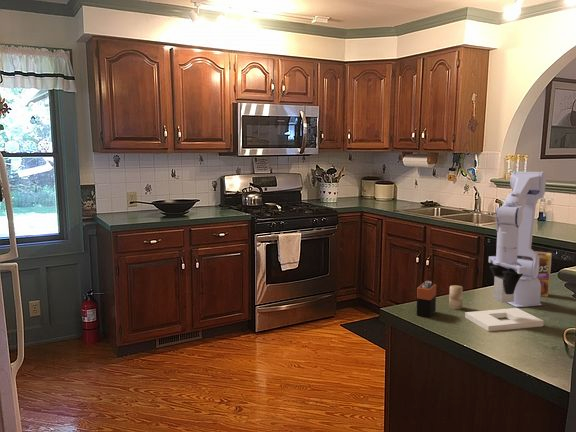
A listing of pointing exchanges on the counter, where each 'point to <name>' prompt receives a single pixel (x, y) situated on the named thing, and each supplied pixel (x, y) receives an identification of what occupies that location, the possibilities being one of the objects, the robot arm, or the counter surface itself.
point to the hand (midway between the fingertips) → (504, 291)
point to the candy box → (544, 271)
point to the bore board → (493, 324)
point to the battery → (426, 299)
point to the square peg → (501, 290)
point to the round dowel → (455, 297)
